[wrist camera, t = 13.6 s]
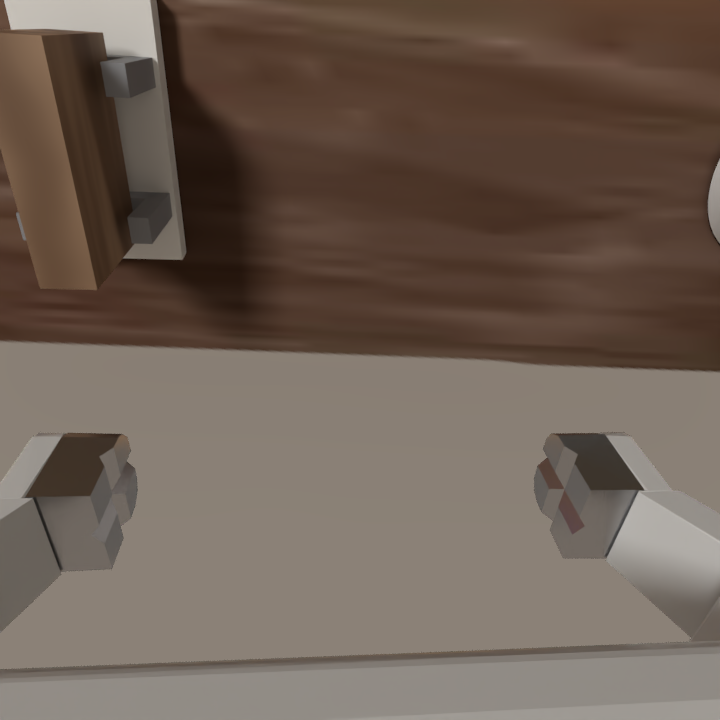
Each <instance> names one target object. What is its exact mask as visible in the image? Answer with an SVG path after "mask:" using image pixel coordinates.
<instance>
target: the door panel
mask: <svg viewBox="0 0 720 720" xmlns="http://www.w3.org/2000/svg"><path fill="white" fill-rule="evenodd" d="M102 61H108V60H107V54H106V48H105V42H104V36H103V33H102V32H87V31H73V30H58V29H15V30H0V149H1V152H2V156H3V159H4V163H5V166H6V170H7V173H8V177H9V180H10V184H11V187H12V191H13V194H14V198H15V202H16V205H17V209H18V212H19V216H20V219H21V223H22V226H23V230H24V233H25V237H26V240H27V244H28V247H29V251H30V255H31V258H32V262H33V265H34V269H35V272H36V276H37V279H38V283H39V286H40V289H81V290H98V288H99V287H100V286H101V285H102V284H103V282H104V281H105V280H106V279H107V277H108V276H109V275H110V274H111V272H112V271H113V270H114V269H115V267H116V266H117V265H118V264H119V262H120V261H121V260H122V259H123V258H124V256H125V255H126V254H127V253H128V251H129V250H130V249H131V248H132V246H133V245H134V244H132V242H131V236H130V230H129V224H128V219H127V217H128V216H129V215H130V214H131V213H132V212H133V209H132V203H131V197H130V191H129V185H128V179H127V173H126V167H125V161H124V155H123V149H122V143H121V137H120V131H119V125H118V119H117V113H116V107H115V101H114V97H106V93H105V87H104V81H103V75H102V70H101V64H100V62H102Z"/></svg>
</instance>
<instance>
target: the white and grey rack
mask: <svg viewBox="0 0 720 720" xmlns="http://www.w3.org/2000/svg"><path fill="white" fill-rule="evenodd" d="M4 2H5V6H6V10H7V14H8V18H9V22H10V26H11V30H15V29H58V30H73V31H87V32H102V33H103V36H104V42H105V48H106V54H107V60H108V61H102V62H100V64H101V70H102V75H103V81H104V87H105V93H106V97H114V101H115V107H116V113H117V119H118V125H119V131H120V137H121V143H122V149H123V155H124V161H125V167H126V173H127V179H128V185H129V191H130V197H131V203H132V209H133V212H132V213H131V214H130V215H129V216H128V217H127V219H128V224H129V230H130V236H131V242H132V244H134V245H133V246H132V248H131V249H130V250H129V251H128V253H127V254H126V255H125V256H124V258H131V259H166V260H183V258H184V256H185V254H186V253H187V252H186V244H185V235H184V227H183V218H182V210H181V201H180V193H179V185H178V176H177V168H176V159H175V151H174V142H173V134H172V126H171V117H170V109H169V100H168V92H167V83H166V75H165V67H164V58H163V50H162V41H161V33H160V24H159V16H158V7H157V0H4ZM16 215H17V219H18V222H19V226H20V229H21V233H22V236H23V240H26V237H25V233H24V230H23V226H22V223H21V219H20V216H19V212H17V213H16Z"/></svg>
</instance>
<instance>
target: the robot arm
mask: <svg viewBox="0 0 720 720" xmlns="http://www.w3.org/2000/svg"><path fill="white" fill-rule="evenodd" d="M708 216H709V222H710V226H711V229H712V231H713V234H714V236H715V237H716V239H717V241H718V242H719V243H720V160H719V162H718V164H717V166H716V169H715V172H714V175H713V178H712V181H711V185H710V190H709V197H708ZM543 450H544V452H545V454H546V456H547V458H546V459H545V460H544V461H543V462H541V463H540V464H539V465H538V466H537V470H536V474H535V477H534V488H535V489H534V491H535V495H536V500H537V503H538V505H539V507H540V510H541V512H542V513H543V514H545V515H546V516H548V517H549V518H550V519H551V520H553V523H552V525H551V528H550V531H551V533H552V536H553V538H554V540H555V542H556V544H557V546H558V548H559V550H560V553H561V555H562V557H563V558H607V559H606V561H607V562H608V563H609V564H610V565H611V566H612V567H613V568H614V569H615V570H617V571H618V572H619V573H620V574H621V575H622V576H623V577H625V579H627V580H628V581H629V582H630V583H631V584H632V585H633V586H634V587H635V588H637V589H638V590H639V591H640V592H641V593H642V594H643V595H644V596H645V597H647V598H648V599H649V600H650V601H651V602H652V603H653V604H654V605H655V606H656V607H658V608H659V609H660V610H661V611H662V612H663V613H664V614H665V615H666V616H668V617H669V618H670V619H671V620H672V621H673V622H674V623H675V624H676V625H678V626H679V627H680V628H681V629H682V630H683V631H684V632H685V633H686V634H687V635H689V636H690V637H691V639H690V641H689V642H670V643H647V644H646V643H645V644H619V645H594V646H570V647H547V648H524V649H501V650H478V651H477V650H475V651H454V652H453V651H451V652H427V653H401V654H376V655H352V656H351V655H350V656H324V657H298V658H275V659H274V658H273V659H247V660H223V661H199V662H174V663H149V664H124V665H98V666H76V667H75V666H73V667H49V668H24V669H0V720H720V513H718V512H716V511H715V510H713V509H711V508H710V507H708V506H706V505H704V504H703V503H701V502H699V501H698V500H696V499H694V498H692V497H691V496H689V495H687V494H686V493H684V492H682V491H673V490H672V489H671V488H670V486H669V485H668V484H667V483H666V481H665V480H664V478H663V477H662V476H661V475H660V473H659V472H658V471H657V469H656V468H655V467H654V466H653V464H652V463H651V462H650V460H649V459H648V458H647V457H646V455H645V454H644V453H643V451H642V450H641V449H640V448H639V446H638V445H637V444H636V442H635V441H634V440H633V438H632V437H631V436H630V435H628V434H626V433H625V432H614V433H613V432H611V433H599V434H598V433H586V434H585V433H580V434H579V433H572V434H550V435H549V437H548V438H547V439H546V442H545V445H544V448H543ZM130 452H131V449H130V445H129V441H128V438H127V436H125V435H123V434H95V433H94V434H93V433H67V434H65V433H38V434H37V435H35V436H33V437H32V438H31V439H30V440H29V442H28V443H27V445H26V446H25V448H24V449H23V451H22V452H21V454H20V455H19V456H18V458H17V459H16V461H15V462H14V464H13V465H12V467H11V468H10V469H9V471H8V472H7V474H6V475H5V477H4V478H3V480H2V481H1V483H0V632H1V631H2V630H4V629H5V628H6V626H8V625H9V624H10V623H11V622H12V621H13V620H14V619H15V618H16V617H17V616H18V615H19V614H20V613H21V612H22V611H23V610H25V608H27V607H28V606H29V605H30V604H31V603H32V602H33V601H34V600H35V599H36V598H37V597H38V596H39V595H40V594H41V593H42V592H43V591H45V590H46V589H47V588H48V587H49V586H50V585H51V584H52V583H53V582H54V581H55V580H56V579H57V578H58V577H59V576H60V575H61V572H65V571H83V570H104V569H112V567H113V565H114V562H115V559H116V557H117V554H118V551H119V549H120V546H121V544H122V541H123V534H122V530H121V526H122V525H123V524H124V523H126V522H127V521H128V520H129V519H131V517H132V514H133V511H134V508H135V504H136V498H137V491H138V489H137V476H136V471H135V468H134V467H133V466H131V465H130V464H129V463H128V462H127V459H128V457H129V454H130Z"/></svg>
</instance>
